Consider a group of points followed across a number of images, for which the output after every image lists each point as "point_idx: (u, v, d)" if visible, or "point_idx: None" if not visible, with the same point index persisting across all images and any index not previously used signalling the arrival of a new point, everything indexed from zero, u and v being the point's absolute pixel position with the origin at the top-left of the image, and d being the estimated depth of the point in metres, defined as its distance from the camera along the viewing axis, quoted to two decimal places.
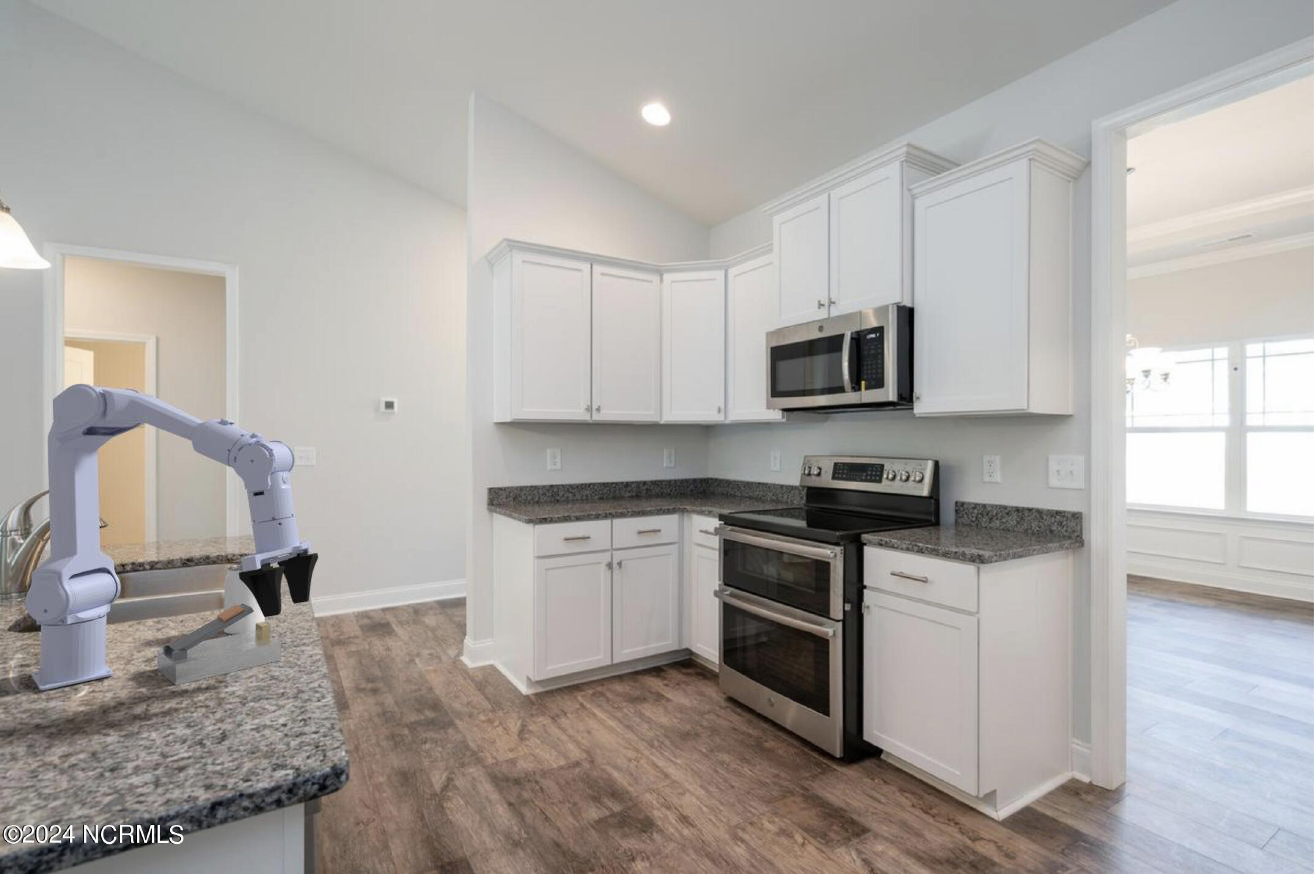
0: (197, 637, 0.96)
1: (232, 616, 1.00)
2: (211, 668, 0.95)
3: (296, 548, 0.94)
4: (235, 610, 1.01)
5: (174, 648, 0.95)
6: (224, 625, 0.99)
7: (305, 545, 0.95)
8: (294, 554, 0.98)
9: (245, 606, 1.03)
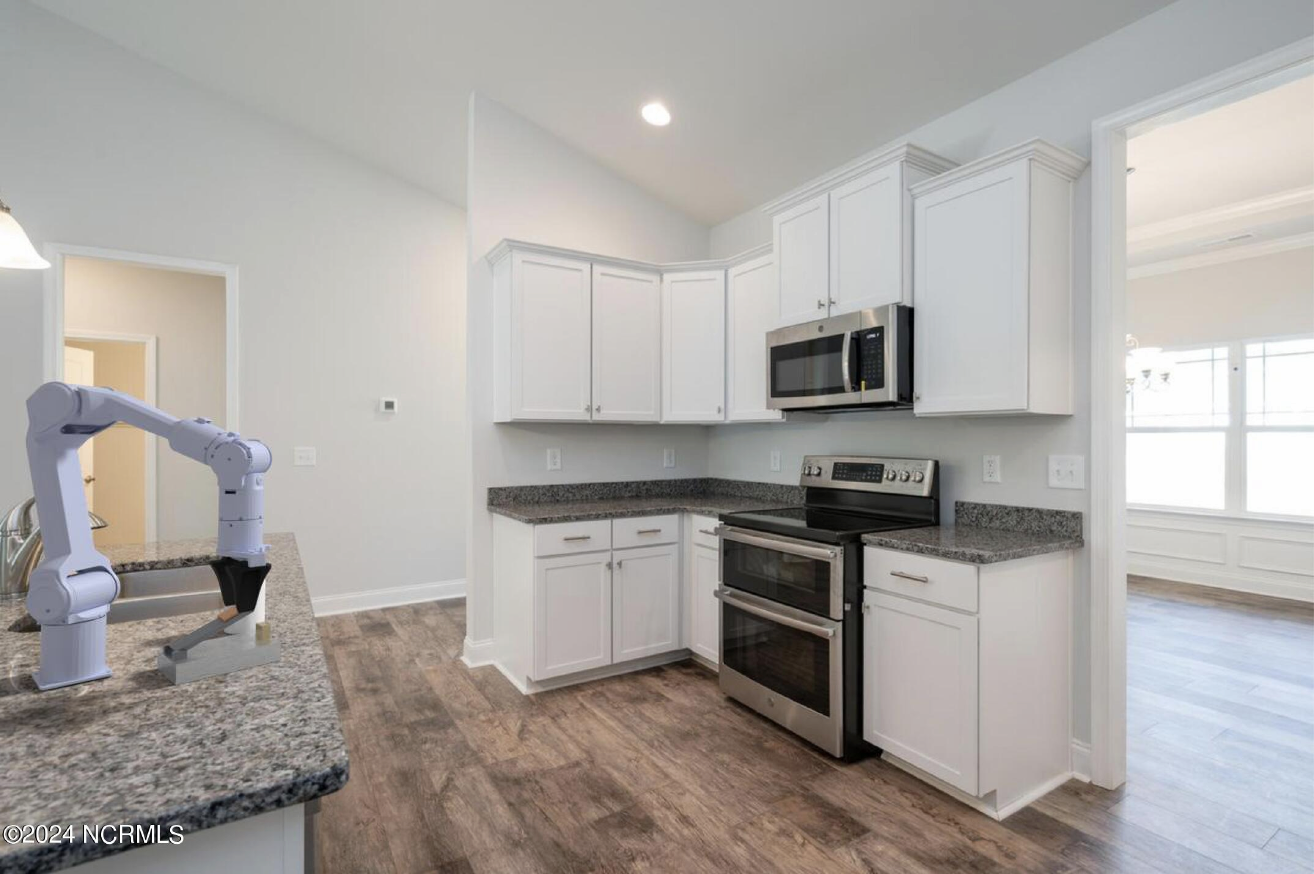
0: (197, 637, 0.96)
1: (232, 616, 1.00)
2: (211, 668, 0.95)
3: (267, 547, 0.97)
4: (235, 610, 1.01)
5: (174, 648, 0.95)
6: (224, 625, 0.99)
7: None
8: None
9: None
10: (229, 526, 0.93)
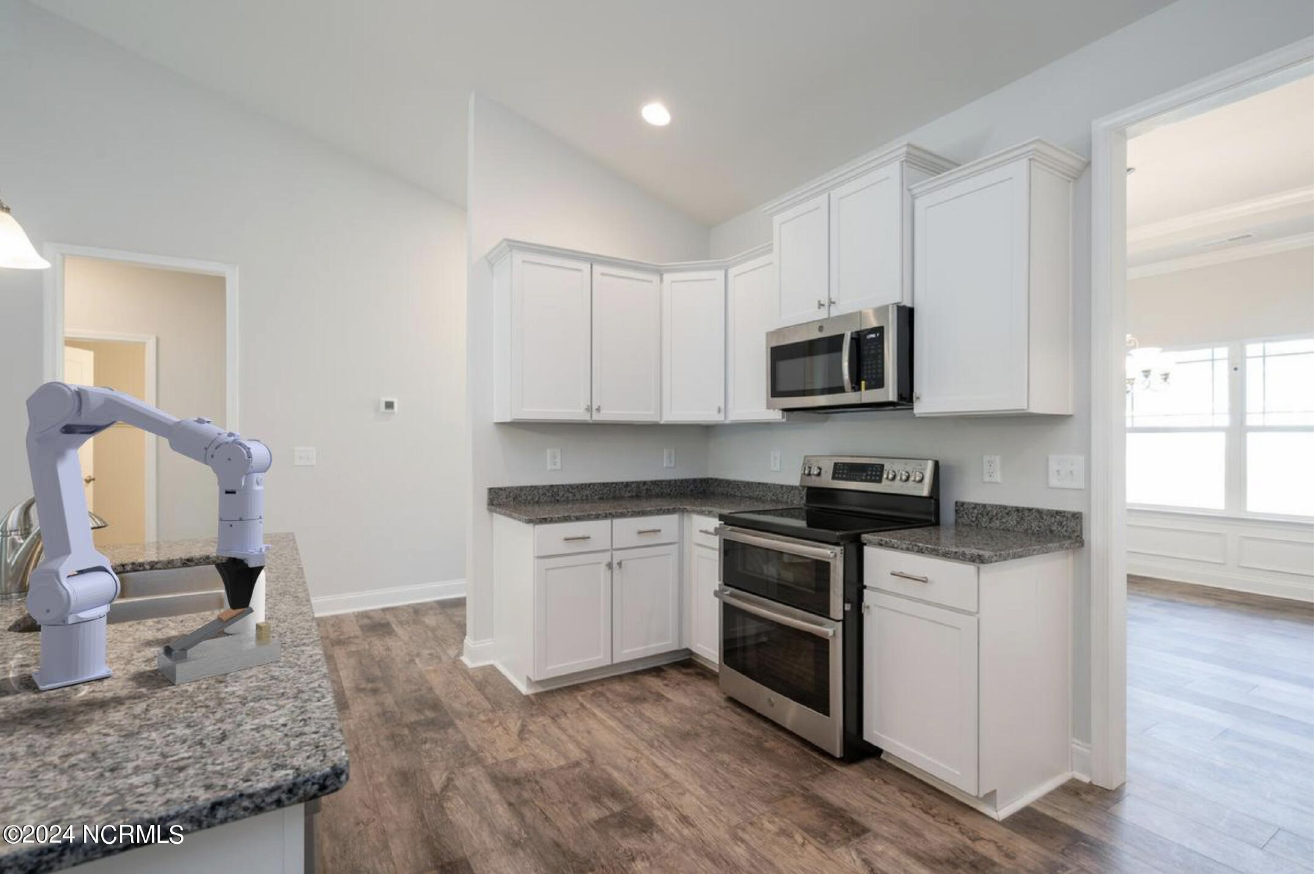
0: (197, 637, 0.96)
1: (232, 616, 1.00)
2: (211, 668, 0.95)
3: (267, 547, 0.97)
4: (235, 610, 1.01)
5: (174, 648, 0.95)
6: (224, 625, 0.99)
7: None
8: None
9: None
10: (229, 526, 0.93)
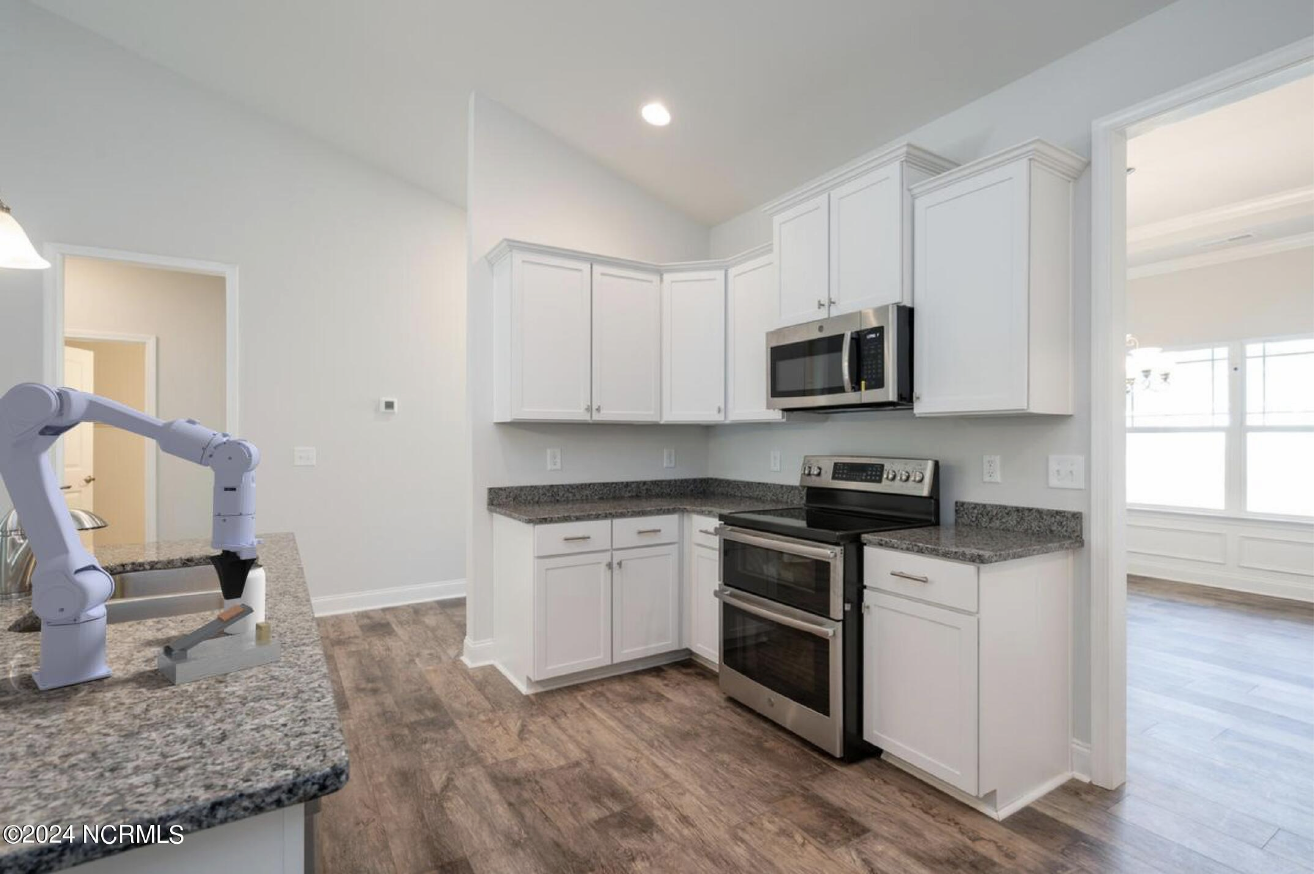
0: (197, 637, 0.96)
1: (232, 616, 1.00)
2: (211, 668, 0.95)
3: (258, 541, 1.03)
4: (235, 610, 1.01)
5: (174, 648, 0.95)
6: (224, 625, 0.99)
7: None
8: None
9: (245, 606, 1.03)
10: (223, 521, 0.98)
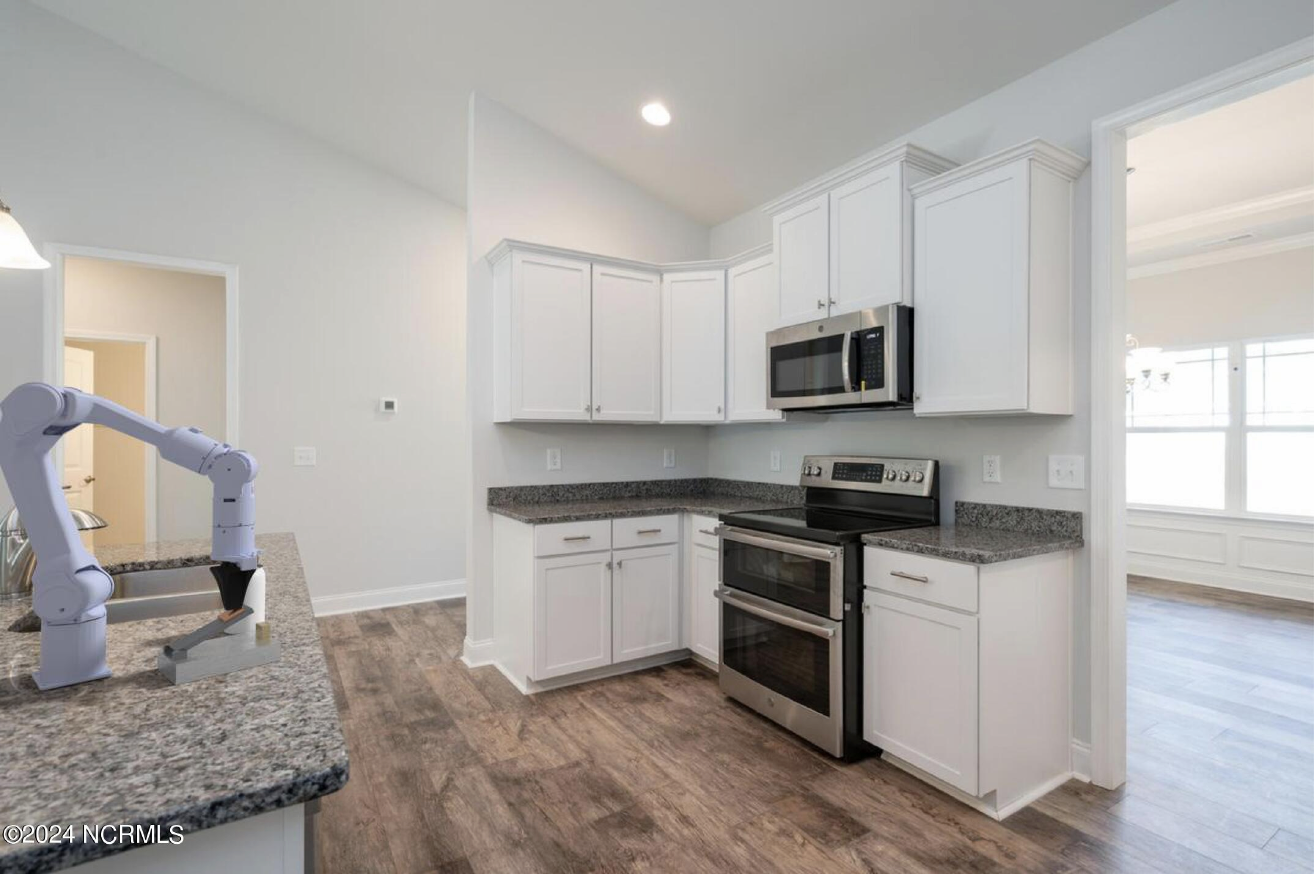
0: (197, 638, 0.96)
1: (232, 616, 1.00)
2: (211, 668, 0.95)
3: (258, 552, 1.03)
4: (235, 611, 1.01)
5: (174, 648, 0.95)
6: (224, 625, 0.99)
7: None
8: None
9: (245, 606, 1.03)
10: (222, 532, 0.99)
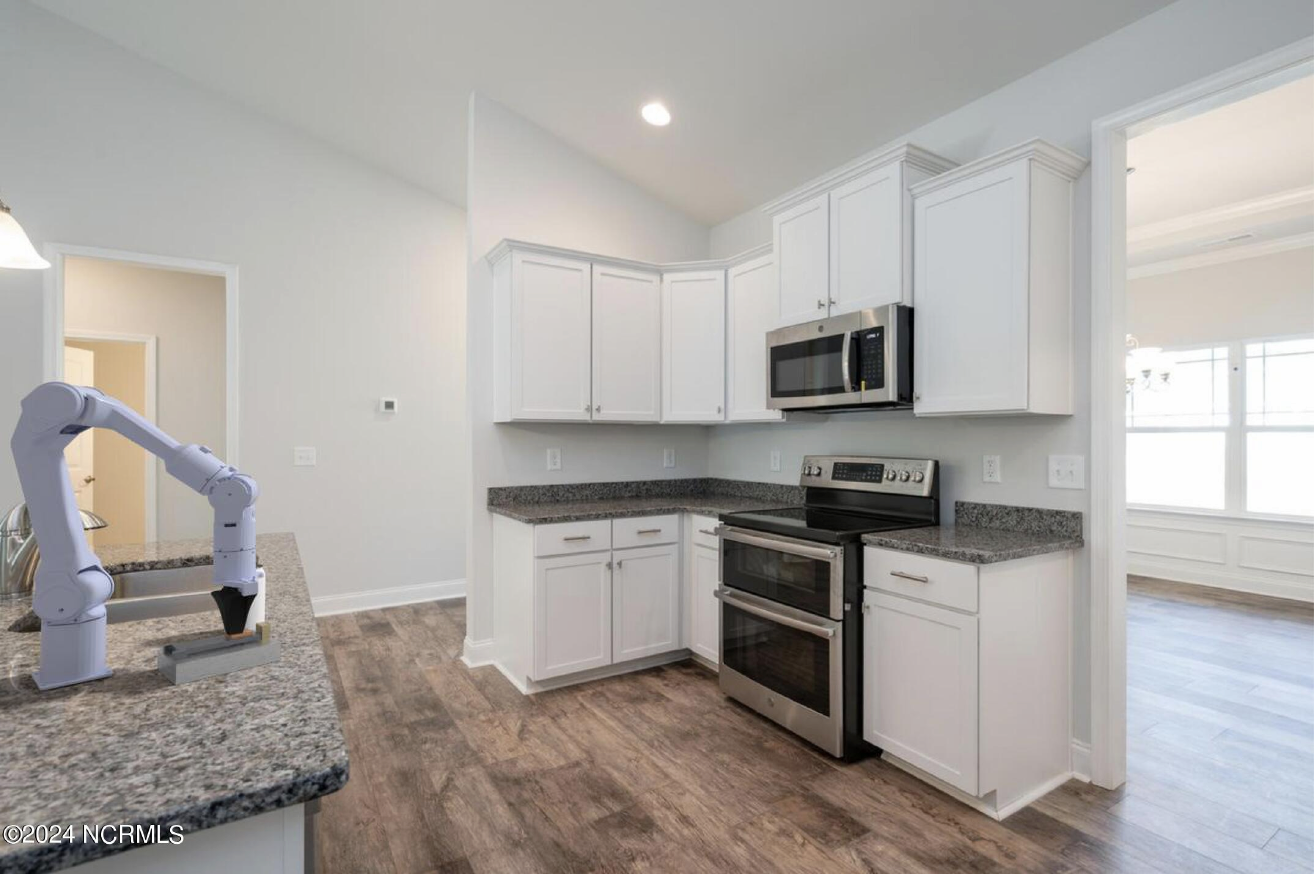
0: (202, 645, 0.97)
1: (240, 636, 1.01)
2: (211, 668, 0.95)
3: (259, 575, 1.03)
4: (245, 632, 1.02)
5: (177, 647, 0.95)
6: (230, 642, 0.99)
7: None
8: None
9: (253, 632, 1.04)
10: (223, 557, 0.99)
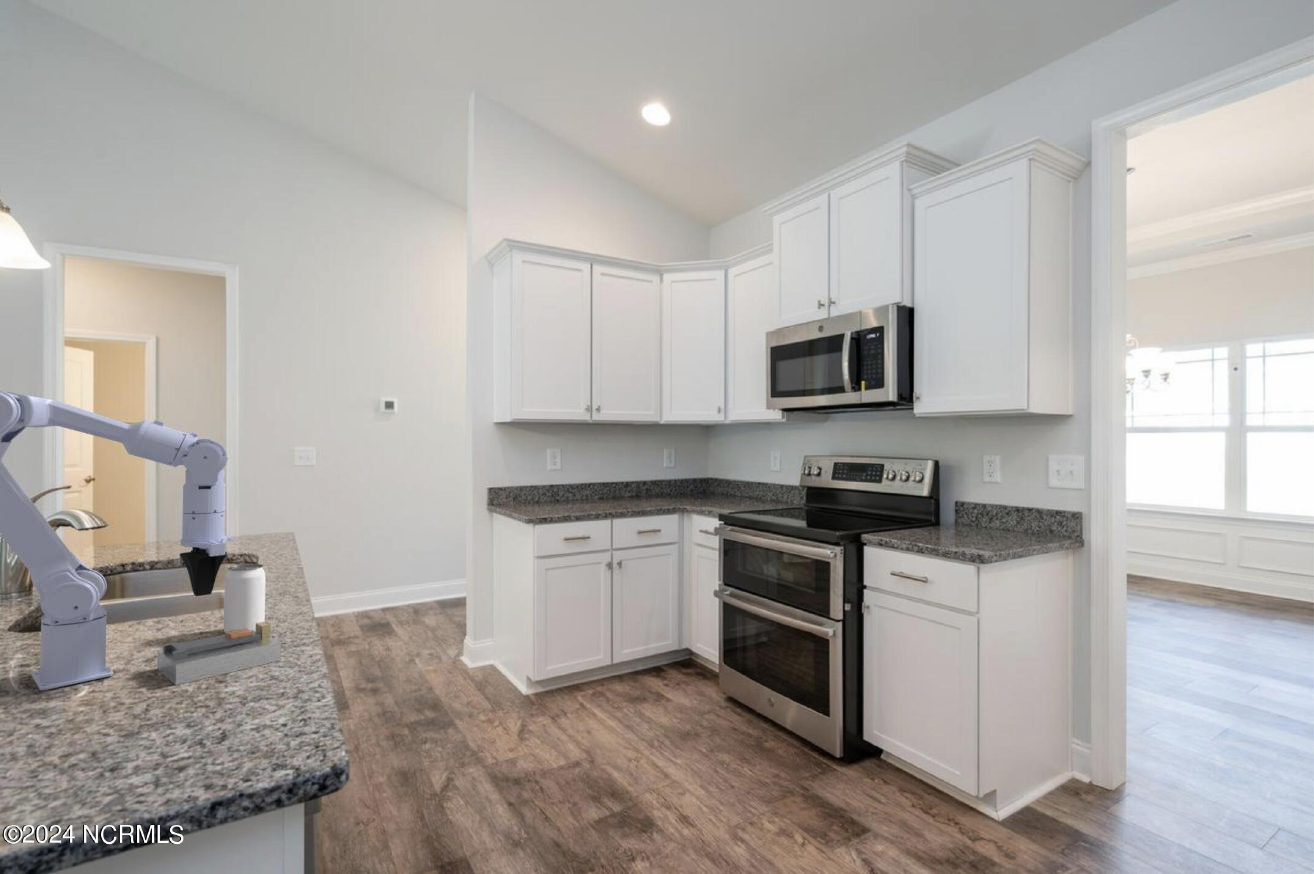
0: (202, 645, 0.97)
1: (240, 636, 1.01)
2: (211, 668, 0.95)
3: (228, 539, 1.05)
4: (245, 632, 1.02)
5: (177, 647, 0.95)
6: (230, 642, 0.99)
7: None
8: None
9: (253, 632, 1.04)
10: (192, 519, 1.01)
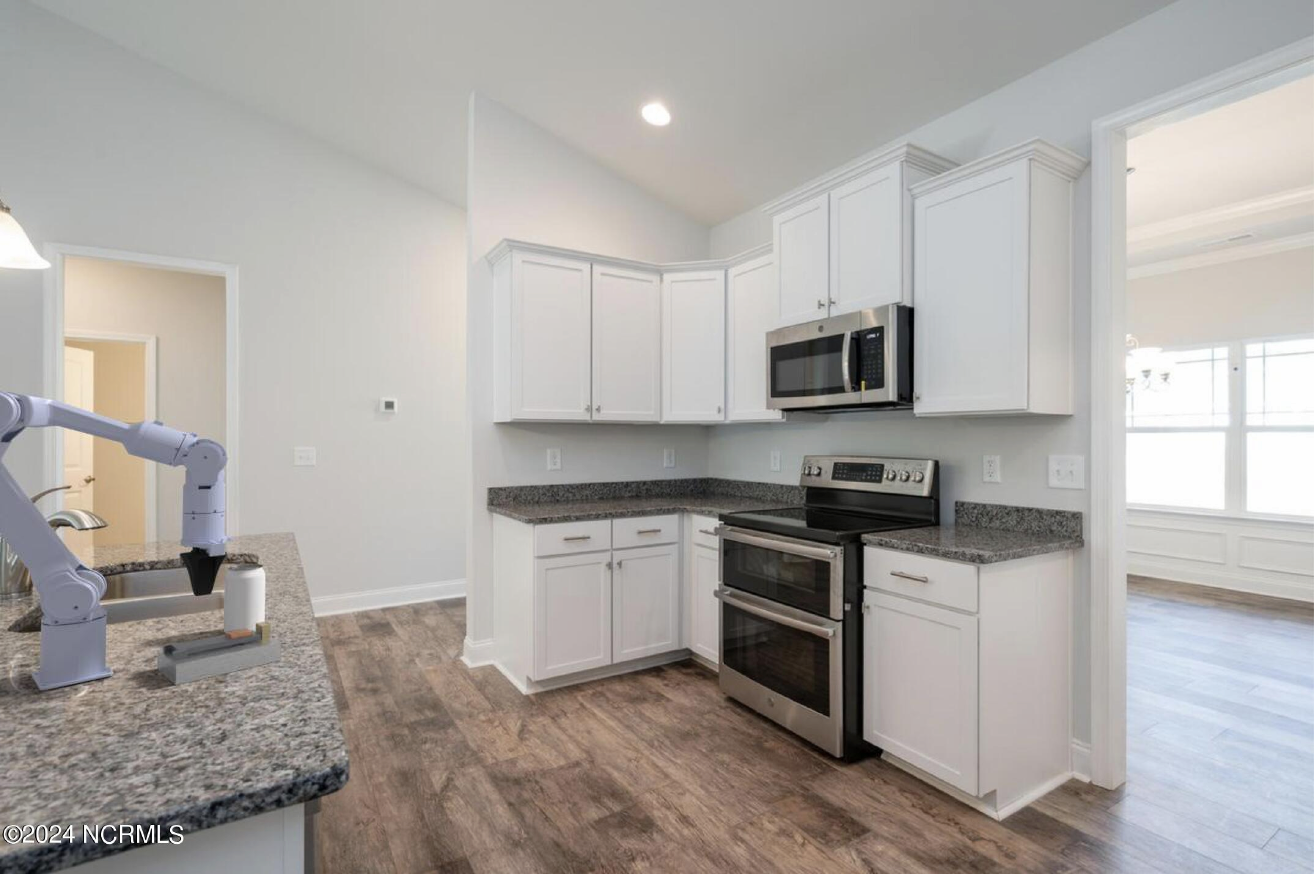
0: (202, 645, 0.97)
1: (240, 636, 1.01)
2: (211, 668, 0.95)
3: (228, 539, 1.05)
4: (245, 632, 1.02)
5: (177, 647, 0.95)
6: (230, 642, 0.99)
7: None
8: None
9: (253, 632, 1.04)
10: (192, 519, 1.01)
